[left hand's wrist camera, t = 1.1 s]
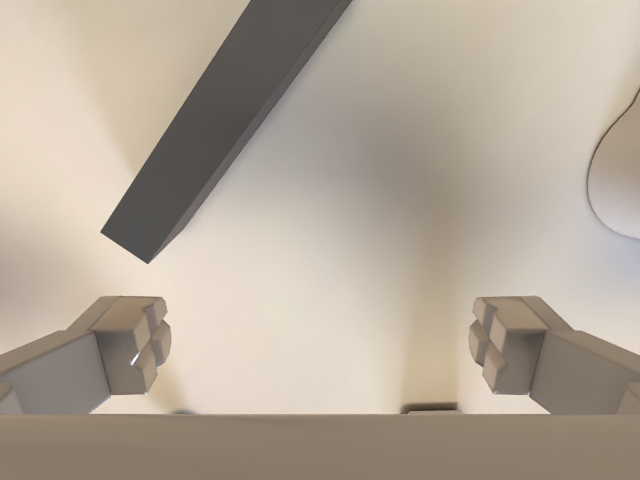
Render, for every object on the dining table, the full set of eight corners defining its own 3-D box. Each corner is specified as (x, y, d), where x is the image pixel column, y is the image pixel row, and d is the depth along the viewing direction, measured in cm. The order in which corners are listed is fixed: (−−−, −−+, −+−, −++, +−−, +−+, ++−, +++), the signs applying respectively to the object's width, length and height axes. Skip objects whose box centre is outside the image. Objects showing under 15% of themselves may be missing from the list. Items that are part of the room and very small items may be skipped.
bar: (313, -45, 32) (308, -89, 24) (355, -4, 33) (363, -33, 25) (145, 202, 40) (99, 232, 32) (183, 229, 41) (147, 264, 33)
